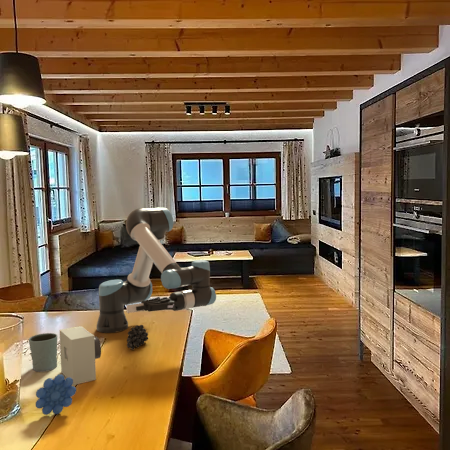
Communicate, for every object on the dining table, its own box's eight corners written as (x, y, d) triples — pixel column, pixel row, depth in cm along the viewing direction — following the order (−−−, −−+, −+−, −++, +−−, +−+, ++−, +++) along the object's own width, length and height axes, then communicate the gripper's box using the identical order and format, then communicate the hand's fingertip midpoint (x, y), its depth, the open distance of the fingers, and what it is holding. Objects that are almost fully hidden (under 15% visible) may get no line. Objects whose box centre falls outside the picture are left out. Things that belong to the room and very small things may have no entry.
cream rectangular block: (61, 371, 172) (59, 329, 171) (82, 367, 177) (81, 326, 176) (73, 385, 160) (71, 339, 159) (95, 379, 164) (94, 335, 163)
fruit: (132, 331, 191) (146, 320, 206) (115, 336, 193) (130, 325, 207) (140, 351, 191) (153, 338, 206) (122, 356, 193) (136, 343, 208)
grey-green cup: (64, 364, 180) (62, 334, 179) (46, 374, 170) (44, 342, 170) (43, 361, 183) (41, 332, 182) (24, 371, 174) (22, 339, 173)
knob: (64, 361, 169) (63, 339, 169) (94, 354, 175) (93, 334, 175) (71, 367, 163) (70, 345, 162) (101, 360, 169) (100, 339, 168)
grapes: (77, 404, 145) (75, 367, 144) (77, 414, 138) (75, 375, 137) (37, 410, 141) (35, 372, 140) (35, 420, 135) (33, 380, 134)
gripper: (189, 312, 185) (134, 322, 172) (173, 306, 196) (121, 315, 183) (189, 294, 185) (133, 303, 171) (173, 288, 195) (120, 296, 182)
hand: (127, 309), depth 177 cm, fingers closed
